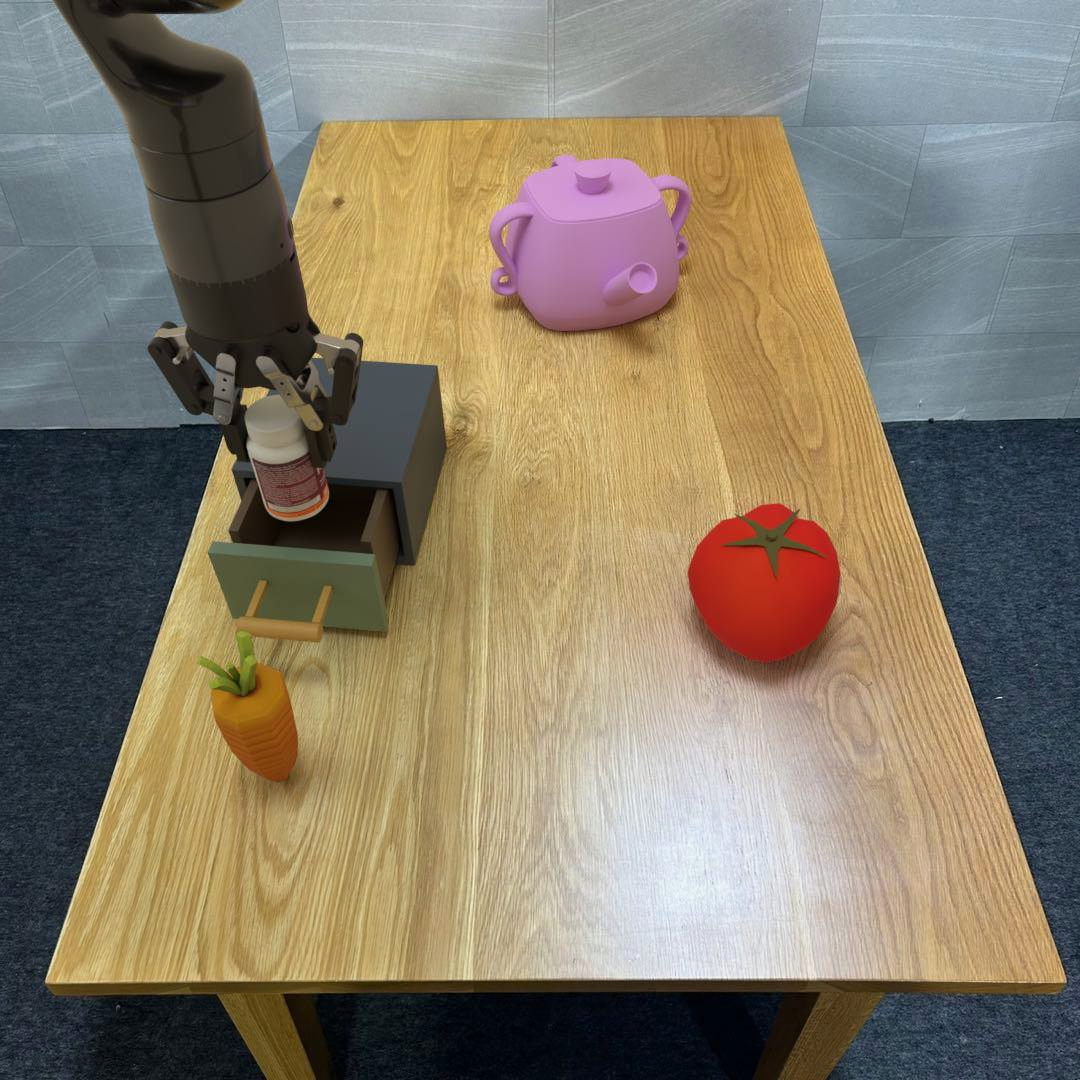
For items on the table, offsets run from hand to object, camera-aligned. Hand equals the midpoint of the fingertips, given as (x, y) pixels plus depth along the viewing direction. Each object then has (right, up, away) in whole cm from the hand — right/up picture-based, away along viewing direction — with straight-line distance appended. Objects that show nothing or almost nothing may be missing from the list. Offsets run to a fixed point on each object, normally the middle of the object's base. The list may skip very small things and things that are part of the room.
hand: (285, 456), depth 73 cm
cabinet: (+2, -2, +19) cm, 19 cm away
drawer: (0, -9, +11) cm, 14 cm away
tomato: (+35, -12, +9) cm, 38 cm away
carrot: (0, -23, 0) cm, 23 cm away
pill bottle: (0, -3, +3) cm, 5 cm away
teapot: (+24, +20, +39) cm, 50 cm away
